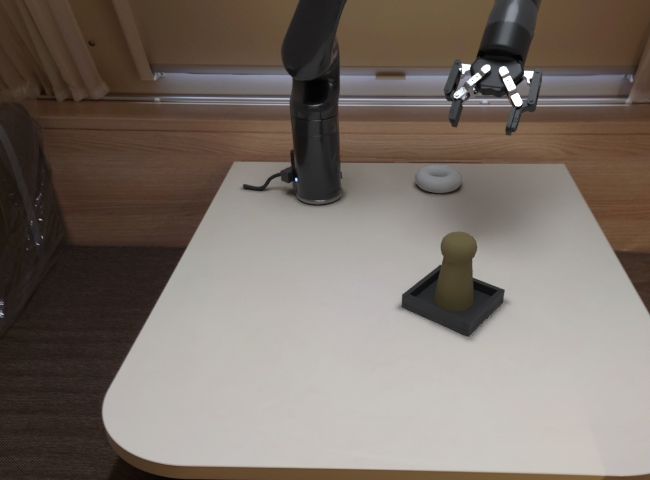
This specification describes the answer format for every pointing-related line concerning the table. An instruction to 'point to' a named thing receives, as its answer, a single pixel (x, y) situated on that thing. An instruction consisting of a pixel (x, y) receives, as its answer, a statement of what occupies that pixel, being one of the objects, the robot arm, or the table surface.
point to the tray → (460, 321)
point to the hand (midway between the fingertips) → (480, 129)
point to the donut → (438, 178)
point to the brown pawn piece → (456, 272)
